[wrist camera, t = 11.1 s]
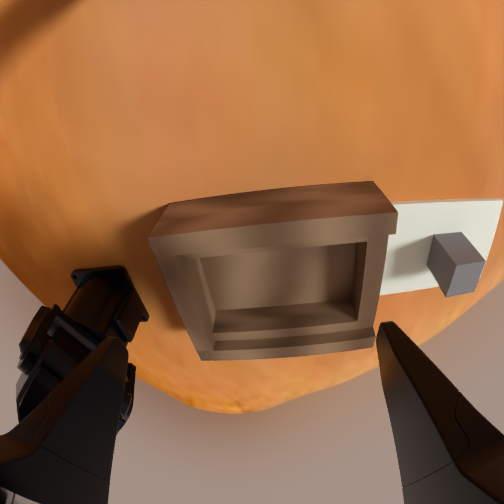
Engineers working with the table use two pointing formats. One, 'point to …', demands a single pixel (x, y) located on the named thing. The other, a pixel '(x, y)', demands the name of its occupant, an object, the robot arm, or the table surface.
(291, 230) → the box
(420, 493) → the robot arm
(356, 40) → the table surface
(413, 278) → the cover
